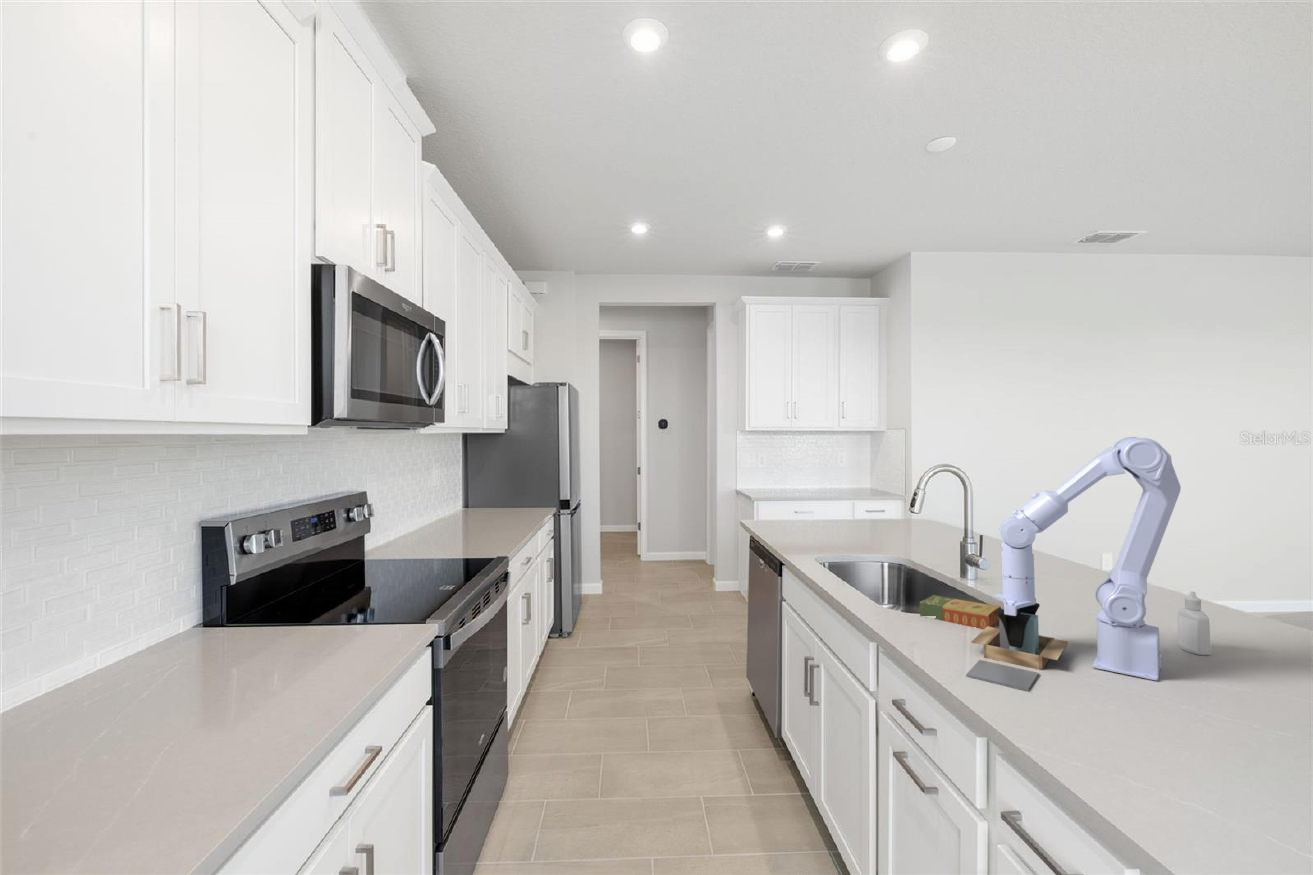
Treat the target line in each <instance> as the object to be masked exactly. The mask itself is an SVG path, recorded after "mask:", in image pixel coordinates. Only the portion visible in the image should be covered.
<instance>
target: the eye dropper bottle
mask: <svg viewBox="0 0 1313 875" xmlns="http://www.w3.org/2000/svg"><path fill="white" fill-rule="evenodd" d="M1210 626H1211V625H1210V618H1209V616H1208V615H1207V614H1206V613H1205V612H1203V611H1202V599H1200V598H1198V597H1197V595H1196V592H1195V591H1189V595H1188V596H1186V597H1184V607H1183V608H1180V609H1178V611H1177V643H1178V644H1177V645H1178V647H1180V648H1181V649H1182V650H1184V651H1186V652H1188V653H1191V654H1194V655H1198V656H1210V655H1211V630H1210V629H1211V627H1210Z"/></svg>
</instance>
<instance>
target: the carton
mask: <svg viewBox="0 0 1313 875" xmlns="http://www.w3.org/2000/svg"><path fill="white" fill-rule="evenodd" d="M998 609H1002V607H1001V606H999V605H996V604H995V605H994V604H989V603H983V602H982V603H981V602H976V601H970V600H964V599H959V598H953V597H948V596H943V595H941V596H940V595H936V594H933V595H931V596H929V597H926V599H923V600H921V601H919V615H920V617H922V616H936V618H935V619H934V620H937V619H938V620H937V621H941V622H943V621H944V622H947V623H951V624H957V625H960V624H961V625H962V626H965V627H966V626H967V627H971V628H974V627H976V629H979V628H980V629H981V630H984V629H985V628H986V627H987V626H988V627H993V628H996V627H997V626H998V625H999V616H998V614H997V610H998ZM961 625H960V626H961Z"/></svg>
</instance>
